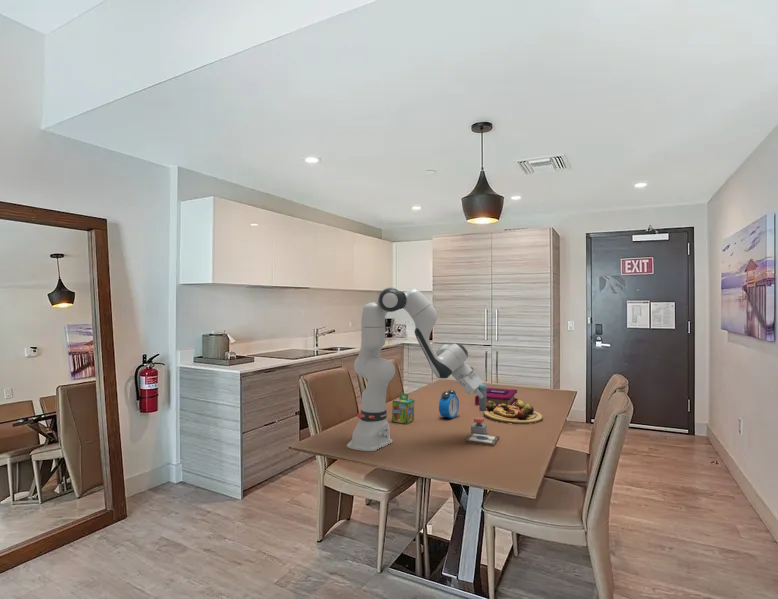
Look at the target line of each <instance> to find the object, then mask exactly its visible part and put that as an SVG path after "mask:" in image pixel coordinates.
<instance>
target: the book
mask: <svg viewBox="0 0 778 599" xmlns="http://www.w3.org/2000/svg"><path fill="white" fill-rule="evenodd" d="M517 393H518V389H513V388H512V389H508V388H500V387H499V388H497V387H487V389H486V404H487V402H488V401H492V402H494V403H495V404H496V407H498V405H499V404H506V405H512V404H513V403H514V402H515V401H516V400H517V401H518V398H516V397H515V395H517ZM517 401H516V402H517ZM516 402H515V403H516ZM515 403H514V404H515ZM514 404H513V405H514ZM474 405H475V406H477V405H479V396H478V395H475V397H474ZM513 405H512V406H513Z"/></svg>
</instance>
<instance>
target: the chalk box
mask: <svg viewBox="0 0 778 599" xmlns="http://www.w3.org/2000/svg"><path fill="white" fill-rule="evenodd" d="M403 396H404V397H403ZM391 410H392V411H391V422H392V423H396V422H397V424H402V423H405V424H404V425H408V424H410V423H412V422H413V420H414V421H415V400H414V399H413V398H409V394H408V393H403V392H401V393H400V395H399V398H396V399H394V400H392V409H391ZM411 421H412V422H411ZM409 422H410V423H409Z"/></svg>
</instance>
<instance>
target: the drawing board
mask: <svg viewBox="0 0 778 599" xmlns="http://www.w3.org/2000/svg"><path fill="white" fill-rule="evenodd" d="M499 439H500V436H499V435H491V434H485V435H483V434H475V433H472V434H471V433H470V434H469V436H468V437H467V438H466V439H465V440H464V442H467V443H466V444H471V443H475V444H474V445H478V444H481V445H480V446H486V445H488V447H495V445H496V444H497V442H498V441H499Z"/></svg>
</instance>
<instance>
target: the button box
mask: <svg viewBox="0 0 778 599" xmlns="http://www.w3.org/2000/svg"><path fill="white" fill-rule="evenodd" d="M487 429H488V426H487V424H485V423H481V426H476V422H473V423H472V424H471V425H470V435H471V434H472V433H475V434H483V435H487V433H488V430H487Z"/></svg>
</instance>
